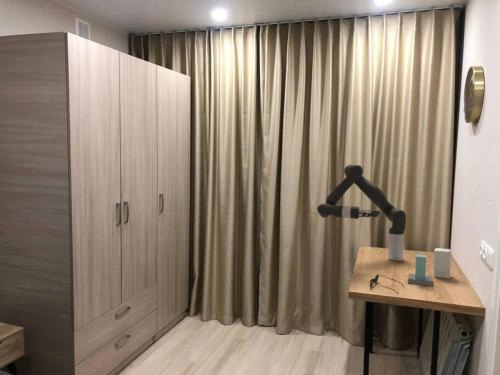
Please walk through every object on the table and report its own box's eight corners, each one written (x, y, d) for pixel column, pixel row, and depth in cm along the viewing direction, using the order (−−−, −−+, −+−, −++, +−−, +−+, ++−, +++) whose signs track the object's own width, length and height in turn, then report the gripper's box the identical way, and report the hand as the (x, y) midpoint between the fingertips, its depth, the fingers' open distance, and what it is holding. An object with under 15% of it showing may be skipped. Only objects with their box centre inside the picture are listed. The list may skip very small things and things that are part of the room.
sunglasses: (377, 282, 222) (378, 273, 222) (405, 289, 214) (406, 280, 213) (368, 289, 210) (369, 280, 210) (398, 297, 202) (399, 288, 201)
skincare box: (450, 276, 231) (451, 249, 229) (449, 279, 225) (450, 251, 224) (434, 273, 235) (435, 247, 234) (433, 277, 229) (434, 250, 228)
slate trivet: (408, 277, 228) (409, 273, 228) (432, 280, 223) (432, 276, 223) (407, 283, 219) (408, 278, 219) (432, 286, 214) (432, 281, 214)
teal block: (415, 275, 224) (416, 254, 223) (425, 276, 222) (426, 255, 221) (415, 278, 220) (415, 256, 218) (425, 279, 217) (426, 257, 216)
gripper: (348, 207, 239) (377, 209, 233) (352, 204, 252) (380, 206, 245) (348, 220, 240) (377, 222, 233) (352, 216, 253) (379, 218, 246)
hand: (378, 214), depth 239 cm, fingers open, 8 cm apart
